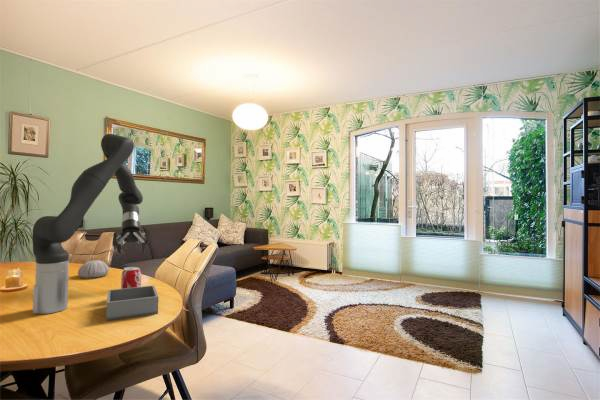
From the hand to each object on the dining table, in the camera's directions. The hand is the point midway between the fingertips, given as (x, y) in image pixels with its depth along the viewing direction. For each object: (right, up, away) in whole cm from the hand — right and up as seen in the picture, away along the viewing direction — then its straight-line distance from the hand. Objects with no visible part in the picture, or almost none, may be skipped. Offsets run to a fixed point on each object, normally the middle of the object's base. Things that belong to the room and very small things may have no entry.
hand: (131, 252), depth 137 cm
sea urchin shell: (-30, -16, +21) cm, 40 cm away
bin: (+13, -17, -23) cm, 31 cm away
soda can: (+5, -17, -10) cm, 20 cm away
